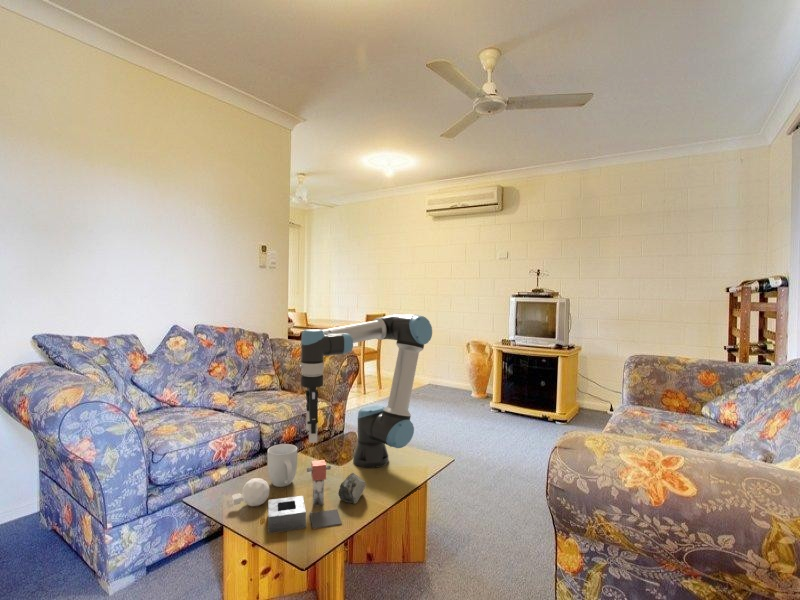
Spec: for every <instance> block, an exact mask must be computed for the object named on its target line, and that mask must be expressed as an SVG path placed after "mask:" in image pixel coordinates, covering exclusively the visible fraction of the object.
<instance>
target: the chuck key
mask: <svg viewBox="0 0 800 600" xmlns="http://www.w3.org/2000/svg"><path fill="white" fill-rule="evenodd" d="M325 460H326V459H320V460H312V461H311V467H307V468H306V473H308V472H311V478H312V479H311V480H312V505H313V506H315V507H320V506H323V505H324V503H325V501H324V497H325V496H324V495H325V494H324V492H325V491H324V489H325V481H326V480H327V471H329V470H331V468H332V467H331V465H327V464H326V461H325Z"/></svg>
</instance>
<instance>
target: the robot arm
mask: <svg viewBox="0 0 800 600" xmlns="http://www.w3.org/2000/svg"><path fill="white" fill-rule="evenodd" d="M432 337H433V326H432V323H431V322H430V320H429V319H428V318H427V317H425V316H423V315H419V314H403V313H396V314H390V315H386V316H381V317H375V318H374V319H373V320H372V321H366V322H360V323H354V324H349V325H348V324H347V325H343V326H337V327H331V328H327V329H326V328H325V329H318V328H317V329H315V328H312V329H311V328H310V329H304V330H302V333H301V339H300V346H301V348H300V349H301V352H300V358H301V361H300V365H299V369H301V372H300V373H301V376H300V386H301V387H302V388H305V389H306V390H305V398H306V399H305V400H306V405H305V407H306V409H305V410H306V414H305V415H306V417H305V418H306V419H305V421H306V424H305V425H306V426H305V429H306V431H308V443H309V444H315V443H317V444H318V424H319V413H318V410H319V407H318V404H319V391H318V389H317V388H320V387H323V385H324V375H323V374H324V359H325V357H326V356H336V355H337V356H338V355H344V354H349V353H351V351H352V350H353V348H354V344H355V343H360V342H361V343H362V342H365V341H371V340H378V341H383V340H393V341H396V344H395V345H396V346H397V348H398V352H397V357H396V362H395V367H394V372H393V376H392V382H391V388H390V391H389V396H388V402H387V406H386V407H384V406H380V405H376V406H375V405H374V406H373V405H372V406H371V405H370V406H366V407H362V408H359V410H358V413H357V444H356V447H355V450H354V452H353V456H352V457H353V458H352V461H353V464H354V465H356V466H358V467H361V468H366V469H367V468H368V469H372V468H373V469H375V468H380V467H383V466H385V465H388V462H389V453H388V450H387V446H388V447H390V448H395V449H401V448H402V449H403V448H404V447H406V446H407V445H408V444H409V443H410V442H411V441H412V439H413V437H414V433H415V427H414V423H413V422H412V421H411V416H412V415H411V413H410V411H409V407H410V402H411V397H412V392H413V386H414V385H413V384H414V381H415V375H416V370H417V366H418V360H419V356H420V352H421V351H423V350H424V347H425V345H427V344H428V343H429V342H430V341H431V340H432ZM386 445H387V446H386Z"/></svg>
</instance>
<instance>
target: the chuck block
mask: <svg viewBox="0 0 800 600" xmlns="http://www.w3.org/2000/svg"><path fill="white" fill-rule="evenodd" d="M267 503H268V505H267V506H268V507H267V508H268V509H267V511H268V512H267V513H268V514H267V521H268V526H267V529H268V533H267V534H274V533H280V532H281V533H282V532H288V531H294V530H303V529H306V528H307V526H306V525H307V524H306V523H307V522H306V521H307V511H306V505H305V499H304V495H298V496H297V495H296V496H288V497H281V498H274V499H273V498H272V499H268V501H267Z"/></svg>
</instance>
